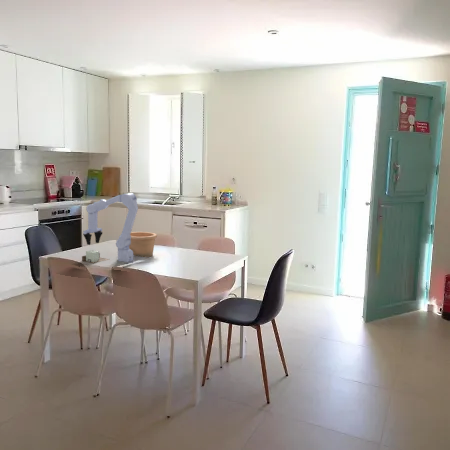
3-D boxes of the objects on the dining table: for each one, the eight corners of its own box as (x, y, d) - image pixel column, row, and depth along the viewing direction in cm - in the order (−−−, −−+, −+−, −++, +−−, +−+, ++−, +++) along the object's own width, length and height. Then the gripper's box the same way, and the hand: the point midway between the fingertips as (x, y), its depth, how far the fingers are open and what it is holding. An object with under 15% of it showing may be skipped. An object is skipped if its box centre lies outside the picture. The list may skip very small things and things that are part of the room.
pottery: (133, 260, 295) (134, 238, 293) (118, 253, 312) (118, 233, 310) (162, 256, 309) (162, 235, 306) (146, 250, 325) (146, 230, 323)
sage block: (99, 260, 283) (98, 251, 282) (93, 262, 278) (93, 252, 277) (91, 259, 285) (91, 250, 285) (86, 261, 281) (85, 251, 280)
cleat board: (110, 261, 288) (110, 254, 288) (94, 265, 276) (93, 258, 276) (98, 259, 293) (98, 252, 292) (82, 263, 281) (81, 256, 280)
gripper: (96, 220, 296) (96, 241, 298) (79, 223, 284) (79, 244, 286) (104, 222, 293) (104, 242, 295) (88, 224, 281) (88, 246, 283)
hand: (93, 243), depth 290 cm, fingers open, 7 cm apart
